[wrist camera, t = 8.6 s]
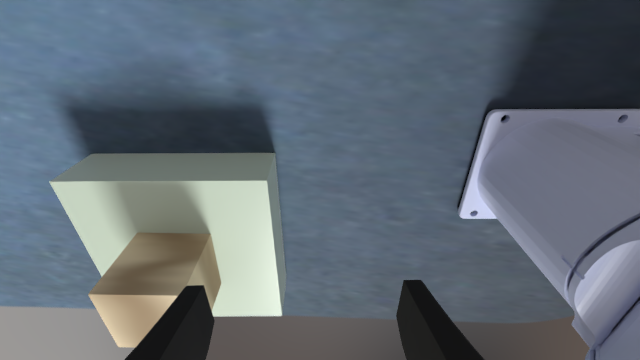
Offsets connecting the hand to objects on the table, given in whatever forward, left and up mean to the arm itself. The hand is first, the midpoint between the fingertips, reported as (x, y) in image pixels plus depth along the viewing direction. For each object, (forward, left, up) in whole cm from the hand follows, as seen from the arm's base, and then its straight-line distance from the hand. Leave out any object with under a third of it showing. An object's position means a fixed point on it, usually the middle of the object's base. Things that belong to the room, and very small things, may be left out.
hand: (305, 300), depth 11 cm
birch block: (+8, +5, -7) cm, 12 cm away
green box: (+8, +5, -11) cm, 15 cm away
